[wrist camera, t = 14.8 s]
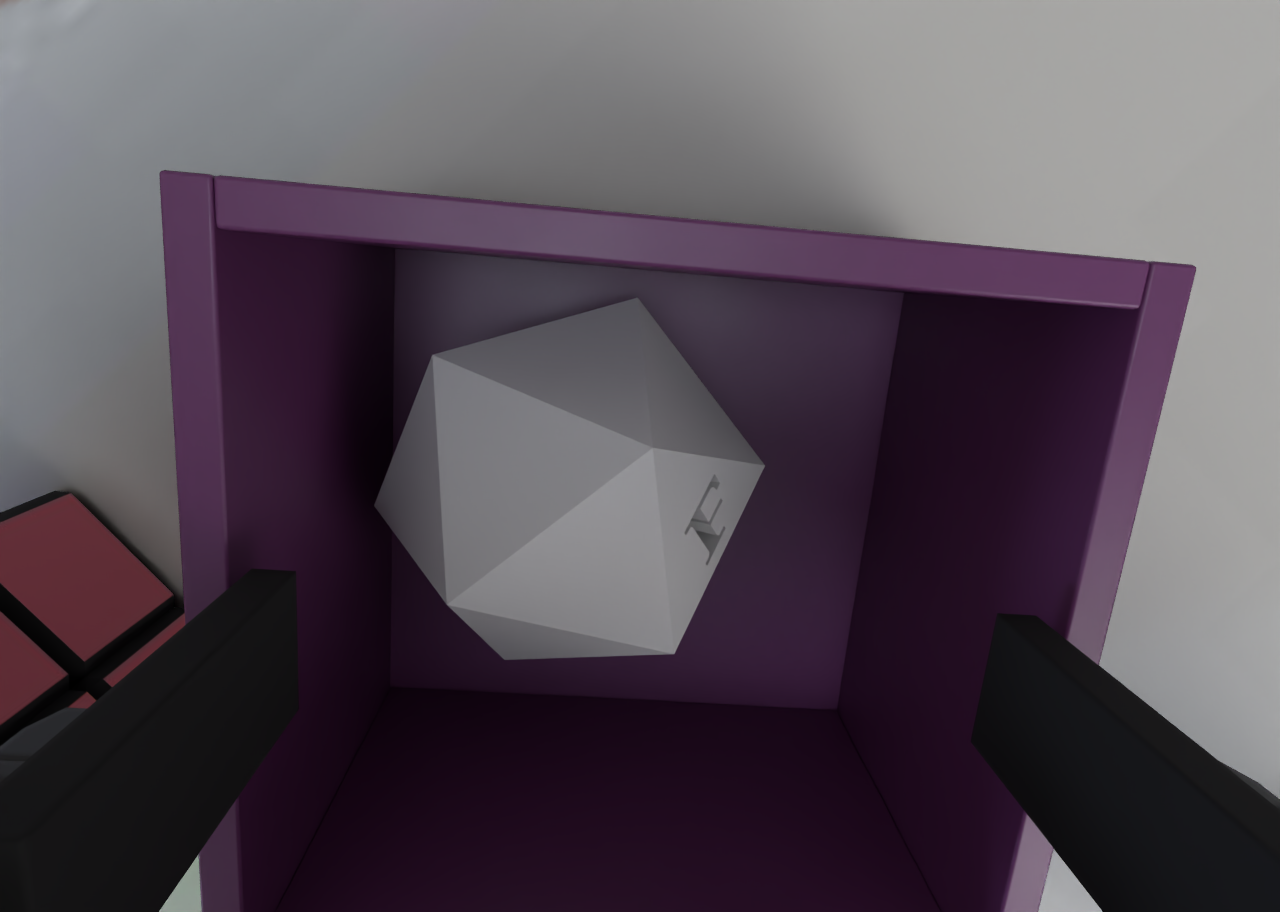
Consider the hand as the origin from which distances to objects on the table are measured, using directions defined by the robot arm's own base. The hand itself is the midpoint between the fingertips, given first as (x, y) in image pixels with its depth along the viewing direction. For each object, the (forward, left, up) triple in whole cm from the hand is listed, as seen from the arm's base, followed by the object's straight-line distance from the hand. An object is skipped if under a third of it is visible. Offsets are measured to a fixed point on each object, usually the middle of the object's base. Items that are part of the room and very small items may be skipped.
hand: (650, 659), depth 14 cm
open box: (0, 0, -11) cm, 11 cm away
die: (-1, 0, -10) cm, 10 cm away
